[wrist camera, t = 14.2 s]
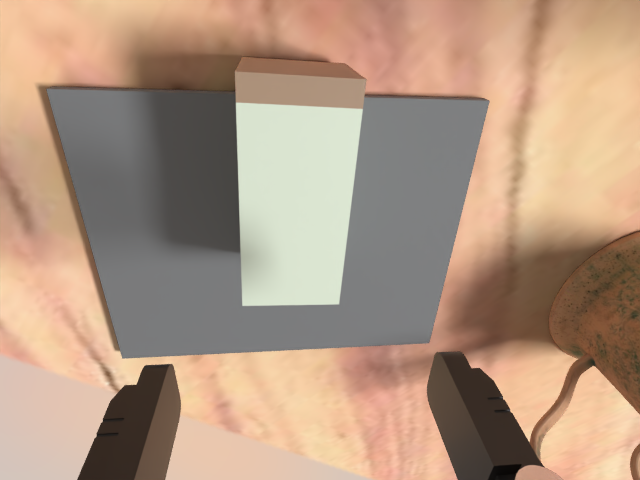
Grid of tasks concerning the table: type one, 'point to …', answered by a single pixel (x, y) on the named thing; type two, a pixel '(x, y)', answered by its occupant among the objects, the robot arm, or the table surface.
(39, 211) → the table surface
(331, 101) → the block
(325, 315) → the mat
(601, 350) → the mug
